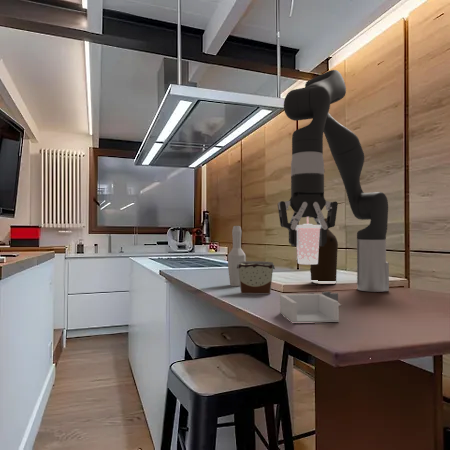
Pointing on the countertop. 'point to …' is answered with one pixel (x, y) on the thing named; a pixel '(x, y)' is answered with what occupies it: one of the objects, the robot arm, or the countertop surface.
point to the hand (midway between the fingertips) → (307, 245)
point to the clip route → (330, 295)
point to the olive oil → (326, 260)
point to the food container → (255, 277)
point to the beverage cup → (308, 243)
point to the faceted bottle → (235, 257)
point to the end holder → (309, 308)
